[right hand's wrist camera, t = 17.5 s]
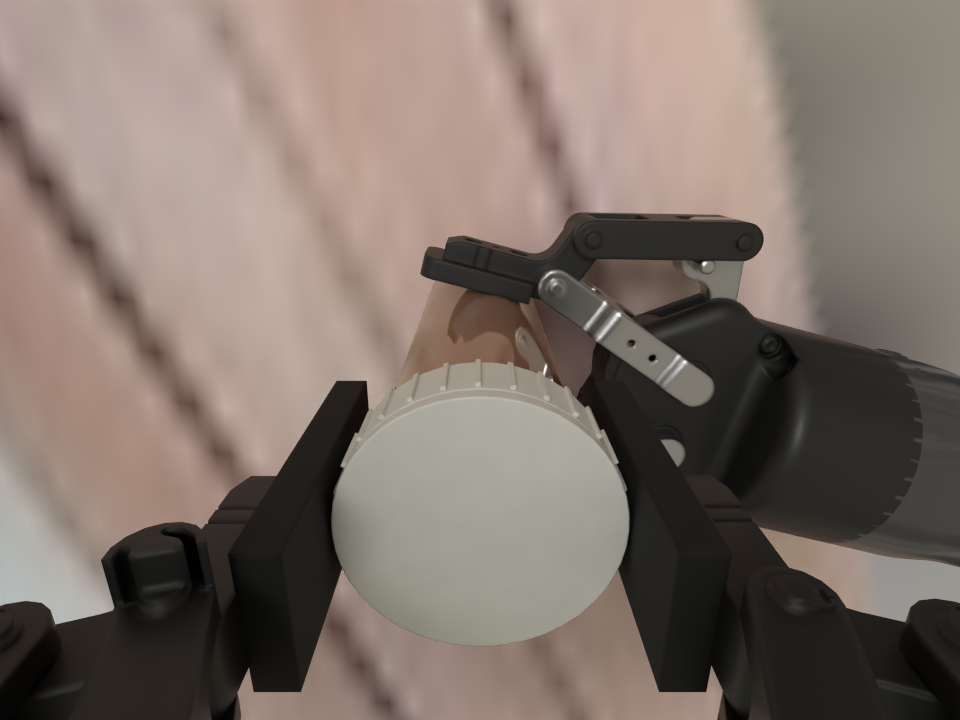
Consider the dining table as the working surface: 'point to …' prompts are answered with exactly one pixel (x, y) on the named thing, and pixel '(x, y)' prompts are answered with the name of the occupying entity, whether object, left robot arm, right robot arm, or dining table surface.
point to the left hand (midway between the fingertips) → (409, 335)
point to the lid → (480, 506)
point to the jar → (478, 334)
